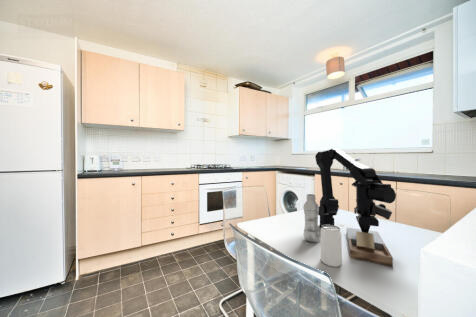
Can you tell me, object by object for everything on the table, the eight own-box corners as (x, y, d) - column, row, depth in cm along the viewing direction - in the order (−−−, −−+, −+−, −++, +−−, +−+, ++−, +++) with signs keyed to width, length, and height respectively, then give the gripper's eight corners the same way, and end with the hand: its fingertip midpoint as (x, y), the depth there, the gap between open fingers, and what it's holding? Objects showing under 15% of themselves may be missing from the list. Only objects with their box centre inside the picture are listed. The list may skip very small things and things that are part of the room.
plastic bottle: (318, 238, 83) (318, 194, 84) (320, 245, 77) (319, 196, 77) (303, 236, 86) (303, 193, 86) (303, 243, 79) (303, 195, 79)
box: (350, 258, 67) (350, 249, 67) (348, 245, 76) (348, 238, 76) (392, 266, 61) (392, 257, 61) (385, 252, 71) (385, 244, 71)
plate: (348, 245, 77) (348, 238, 77) (346, 233, 89) (346, 227, 89) (385, 252, 71) (384, 244, 71) (377, 238, 83) (377, 231, 83)
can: (317, 257, 67) (317, 224, 67) (334, 256, 68) (334, 223, 68) (327, 268, 61) (327, 231, 61) (346, 267, 61) (345, 230, 61)
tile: (356, 247, 73) (356, 245, 72) (356, 233, 76) (356, 231, 75) (374, 250, 70) (374, 248, 69) (372, 236, 73) (373, 233, 72)
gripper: (396, 204, 64) (397, 250, 64) (383, 195, 81) (384, 231, 81) (358, 201, 69) (359, 244, 69) (353, 193, 86) (354, 227, 86)
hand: (365, 236), depth 76 cm, fingers closed
